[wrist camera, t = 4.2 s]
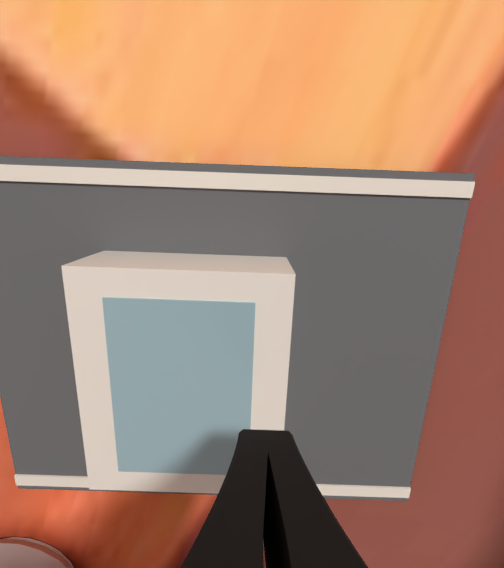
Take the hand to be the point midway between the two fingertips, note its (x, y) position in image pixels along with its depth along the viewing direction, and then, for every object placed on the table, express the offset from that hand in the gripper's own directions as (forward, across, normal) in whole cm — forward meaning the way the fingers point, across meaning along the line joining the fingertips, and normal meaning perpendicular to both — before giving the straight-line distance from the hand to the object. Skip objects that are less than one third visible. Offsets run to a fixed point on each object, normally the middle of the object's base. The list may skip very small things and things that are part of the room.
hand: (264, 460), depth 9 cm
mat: (+6, +2, 0) cm, 7 cm away
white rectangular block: (+4, -1, 0) cm, 4 cm away
